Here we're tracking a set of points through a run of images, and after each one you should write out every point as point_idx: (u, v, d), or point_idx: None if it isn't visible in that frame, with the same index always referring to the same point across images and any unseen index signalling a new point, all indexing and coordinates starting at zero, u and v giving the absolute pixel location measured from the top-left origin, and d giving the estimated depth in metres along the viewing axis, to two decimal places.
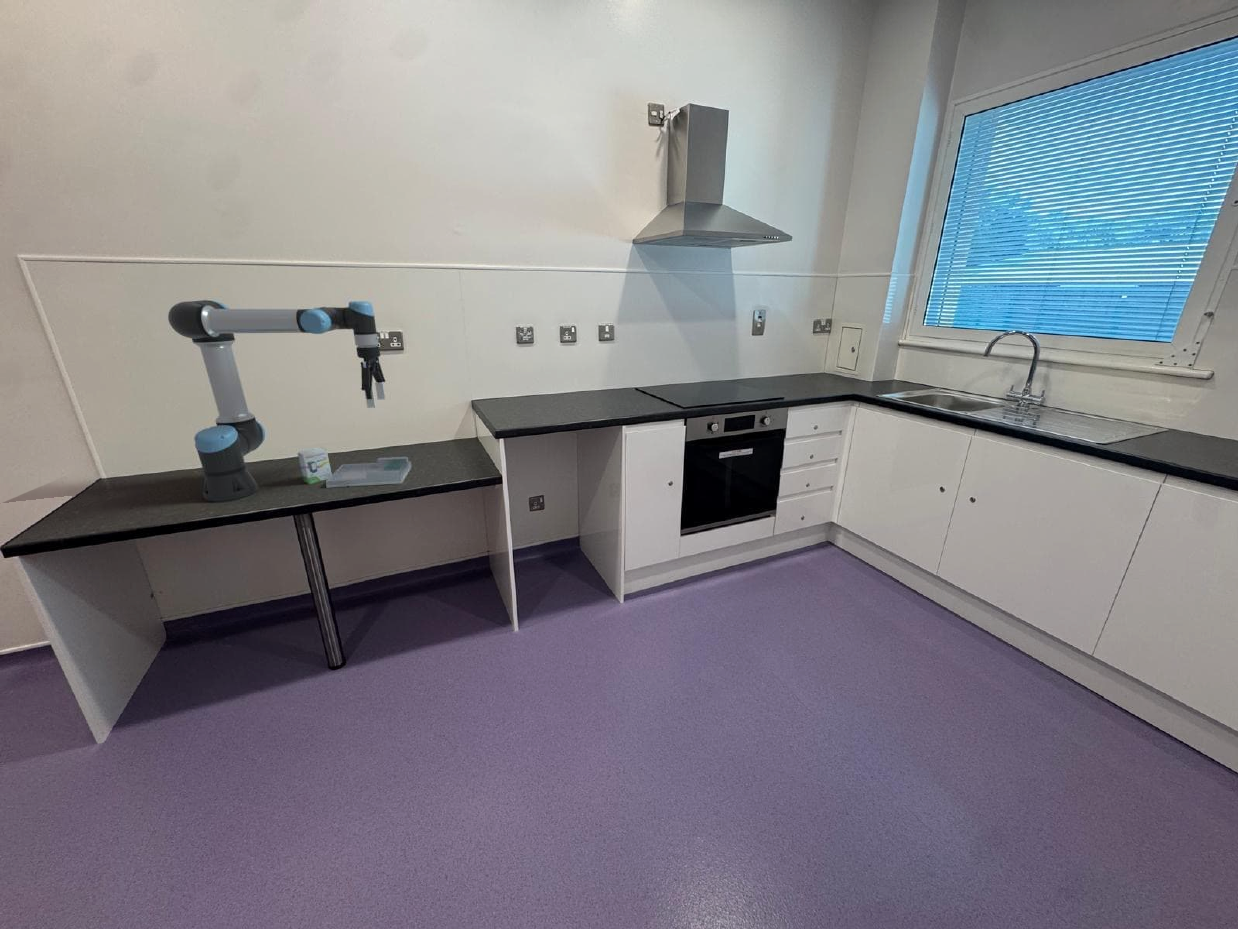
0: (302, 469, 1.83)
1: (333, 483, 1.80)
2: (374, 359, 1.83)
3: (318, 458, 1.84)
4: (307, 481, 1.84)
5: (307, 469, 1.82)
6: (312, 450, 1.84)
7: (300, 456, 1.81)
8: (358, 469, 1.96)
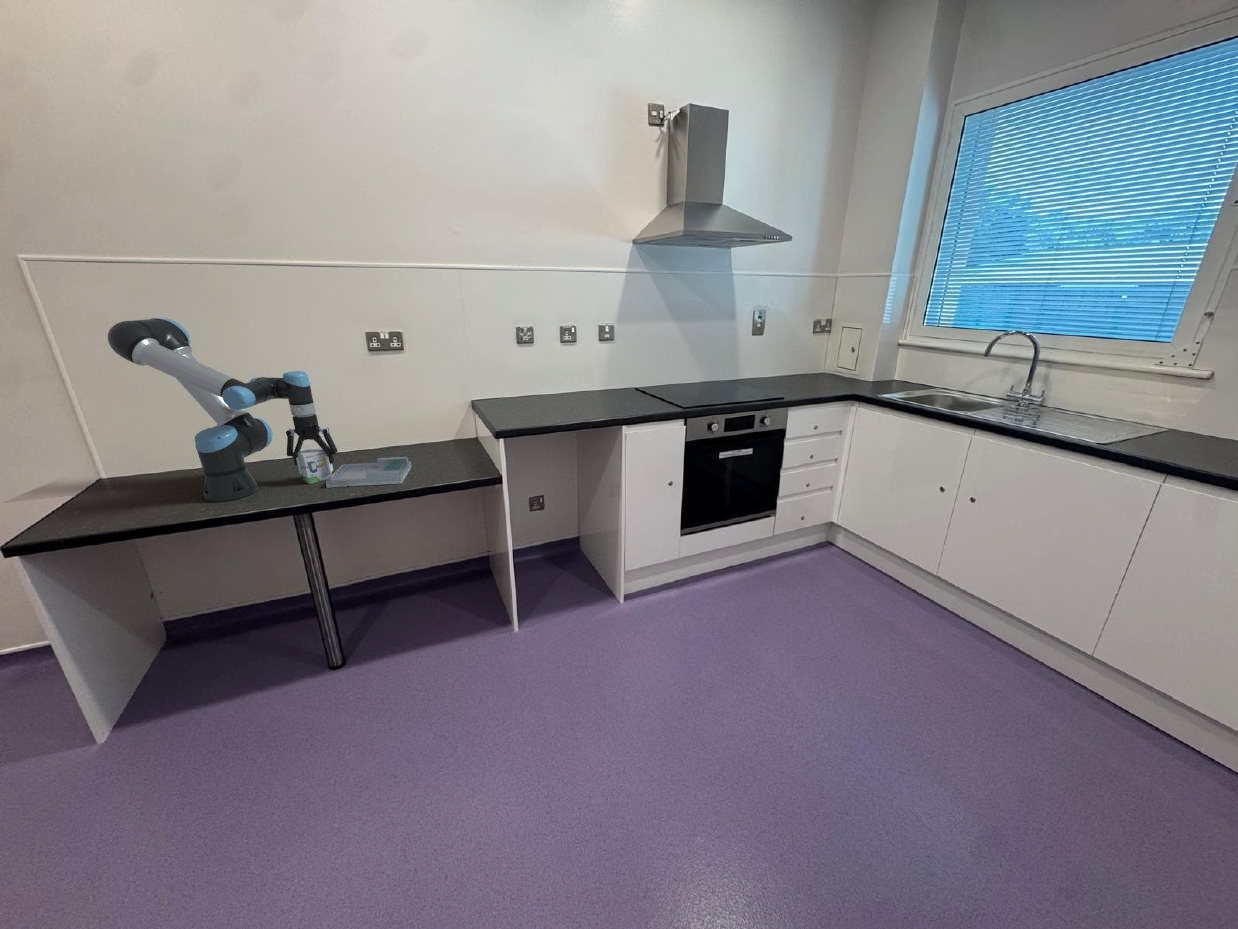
0: (302, 469, 1.83)
1: (333, 483, 1.80)
2: (311, 428, 1.80)
3: (318, 458, 1.84)
4: (307, 481, 1.84)
5: (307, 469, 1.82)
6: (312, 450, 1.84)
7: (300, 456, 1.81)
8: (358, 469, 1.96)
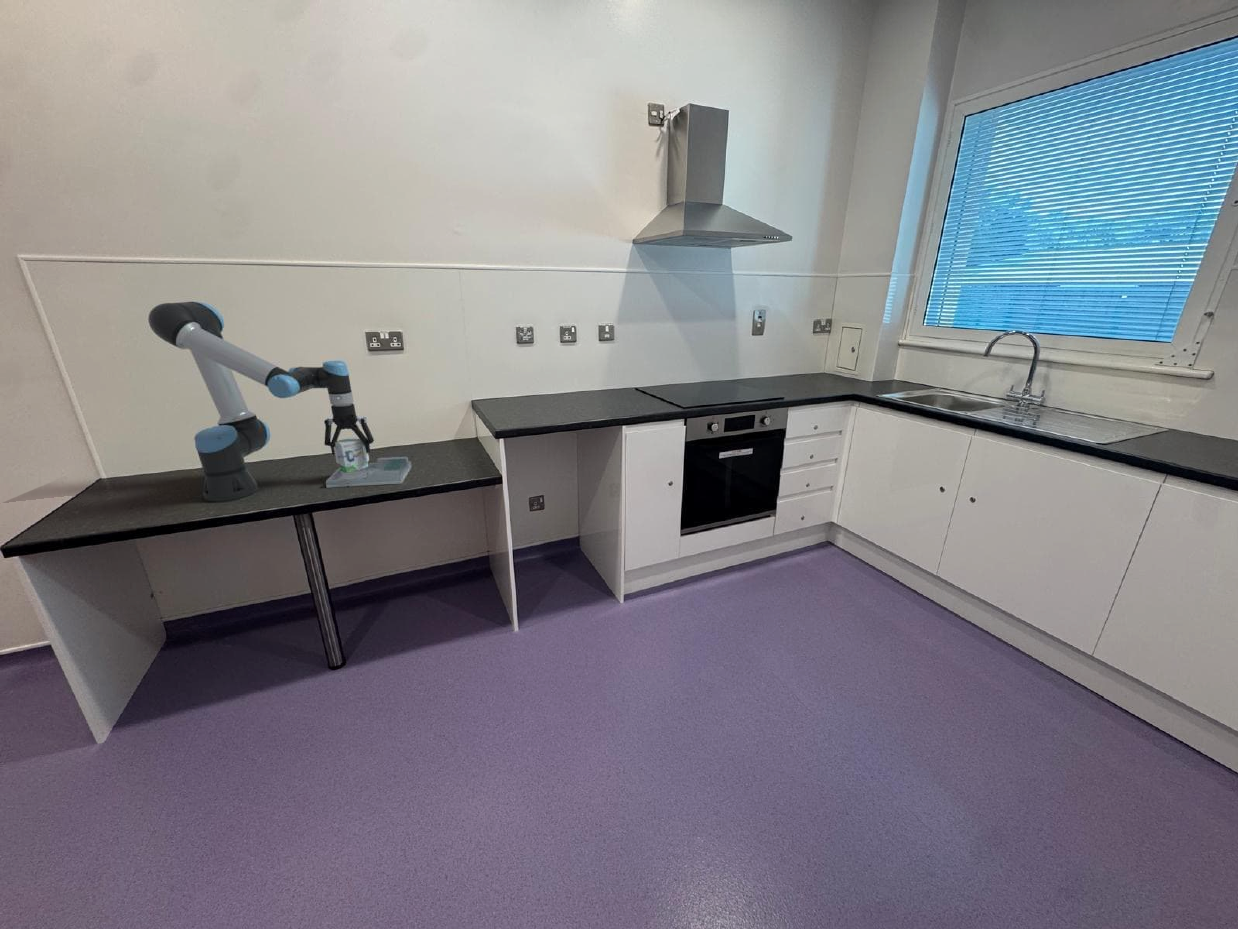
0: (339, 458, 1.84)
1: (333, 483, 1.80)
2: (349, 417, 1.81)
3: (355, 448, 1.85)
4: (344, 470, 1.85)
5: (345, 458, 1.83)
6: (349, 439, 1.85)
7: (338, 445, 1.82)
8: None
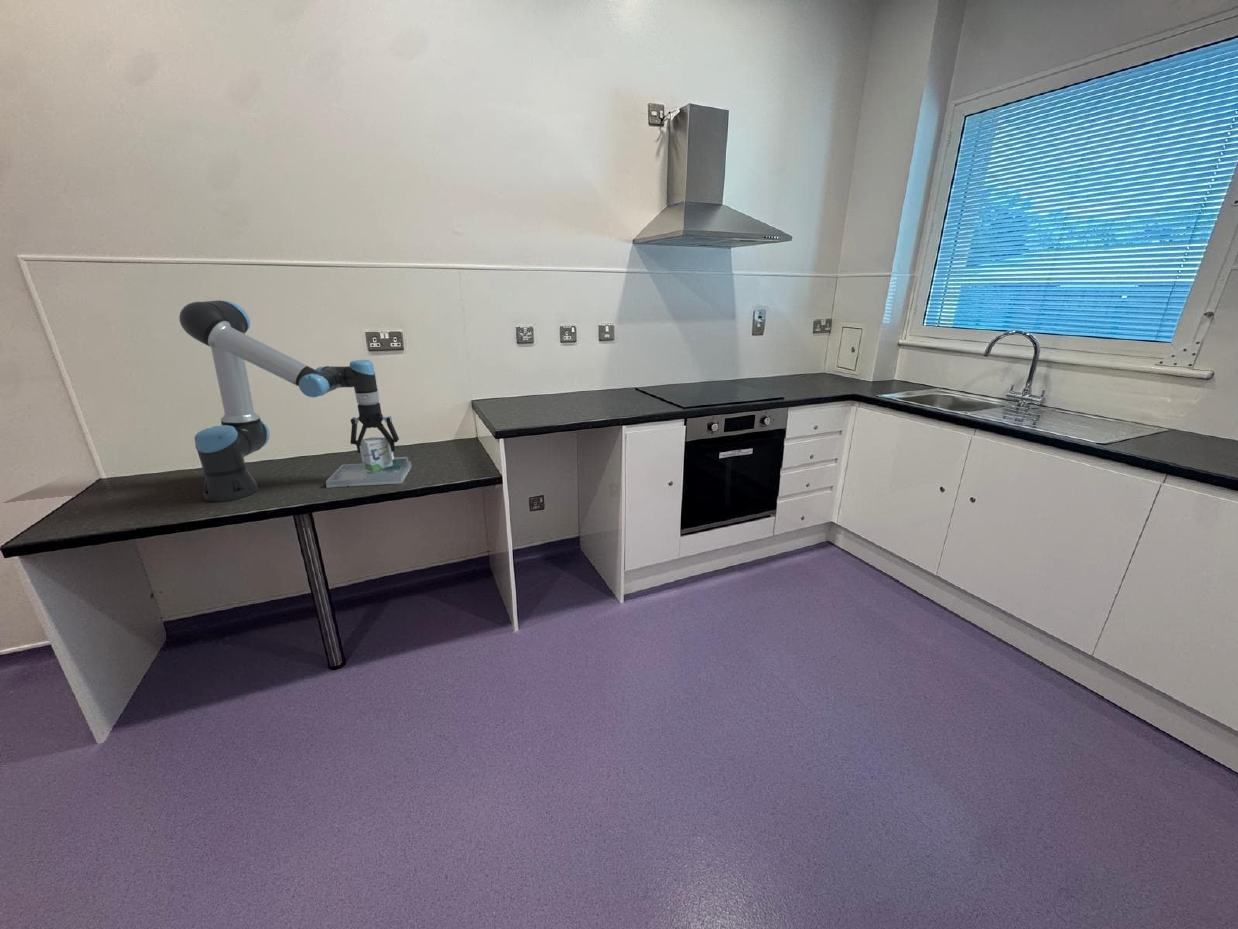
0: (365, 457, 1.86)
1: (333, 483, 1.80)
2: (375, 416, 1.83)
3: (381, 446, 1.87)
4: (370, 468, 1.86)
5: (371, 457, 1.84)
6: (374, 438, 1.87)
7: (364, 444, 1.83)
8: (358, 469, 1.96)
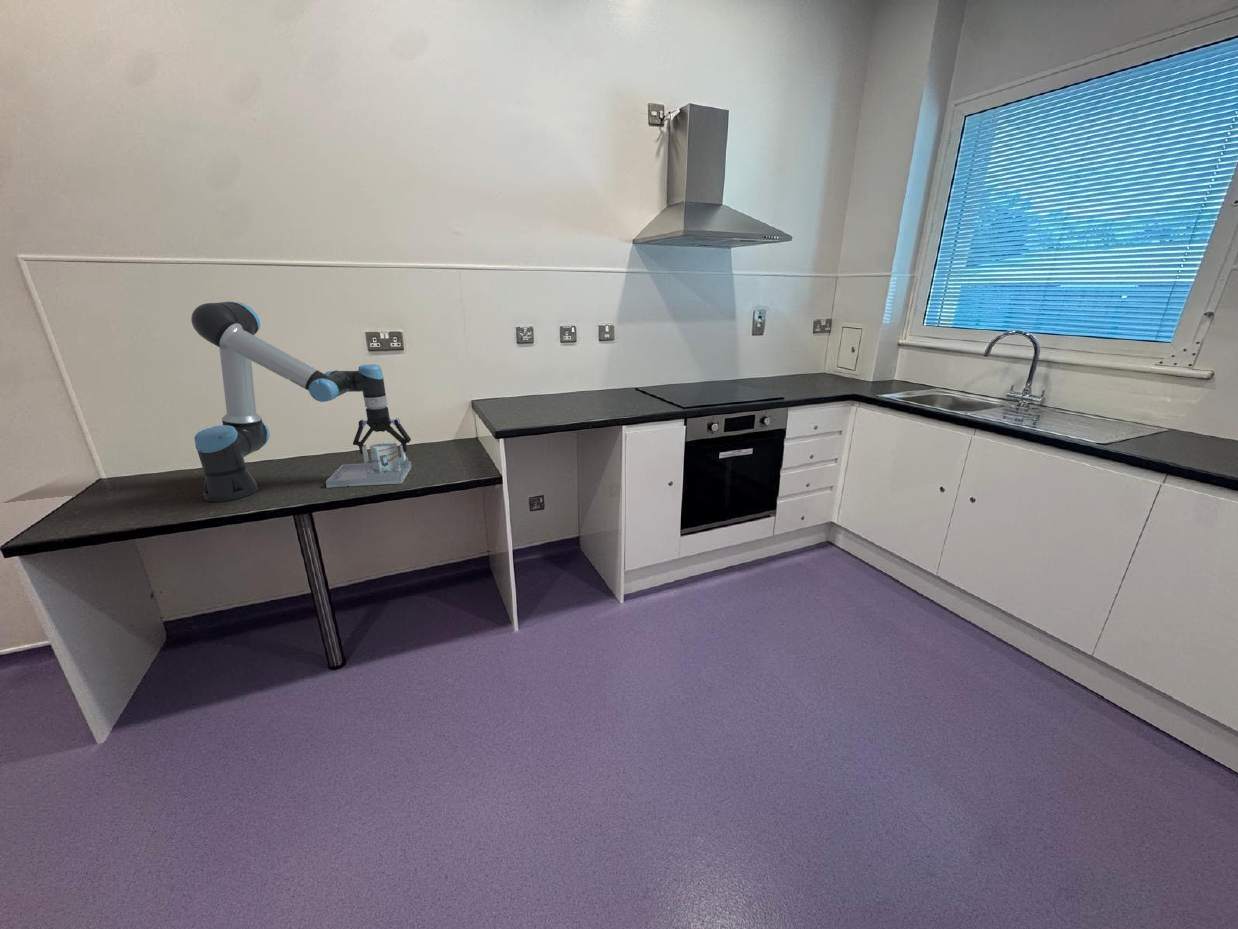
0: (374, 462, 1.87)
1: (333, 483, 1.80)
2: (383, 421, 1.84)
3: (389, 452, 1.88)
4: None
5: (379, 463, 1.86)
6: (383, 444, 1.88)
7: (373, 450, 1.85)
8: (358, 469, 1.96)
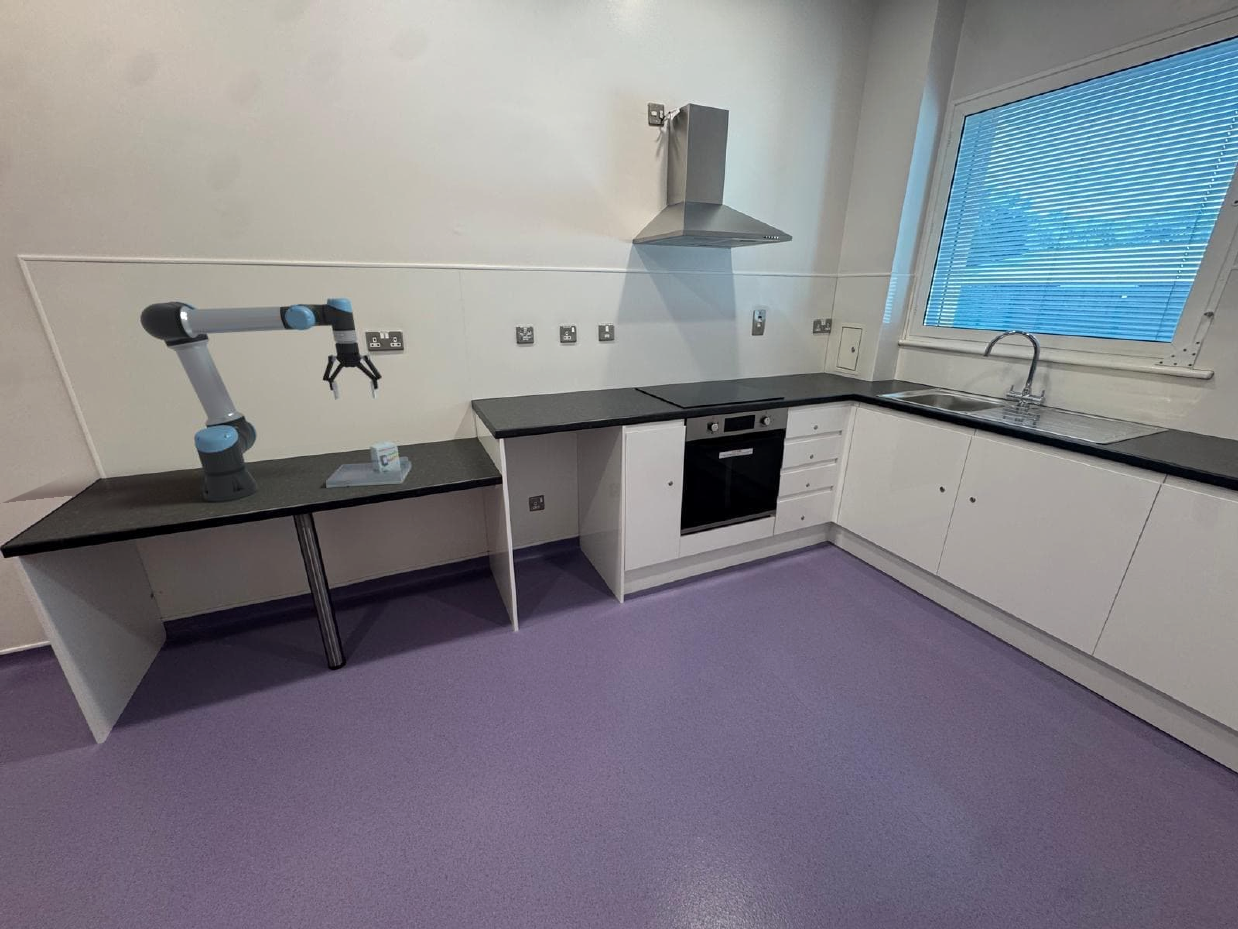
0: (374, 462, 1.87)
1: (333, 483, 1.80)
2: (353, 356, 1.84)
3: (389, 452, 1.88)
4: None
5: (379, 463, 1.86)
6: (383, 444, 1.88)
7: (373, 450, 1.85)
8: (358, 469, 1.96)
